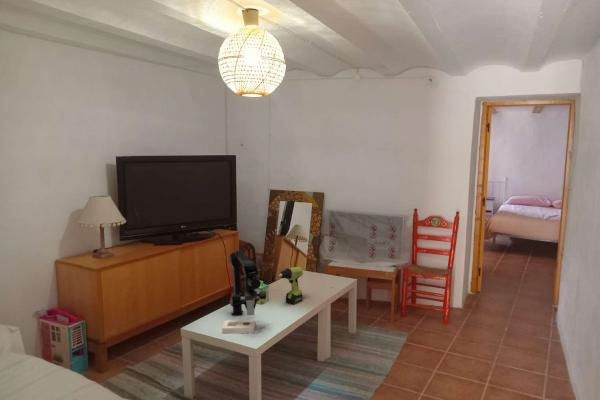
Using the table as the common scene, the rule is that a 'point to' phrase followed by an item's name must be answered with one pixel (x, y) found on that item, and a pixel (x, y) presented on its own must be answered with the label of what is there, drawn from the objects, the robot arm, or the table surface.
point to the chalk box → (262, 288)
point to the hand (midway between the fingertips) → (250, 309)
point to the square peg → (250, 307)
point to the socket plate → (238, 326)
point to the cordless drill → (293, 284)
